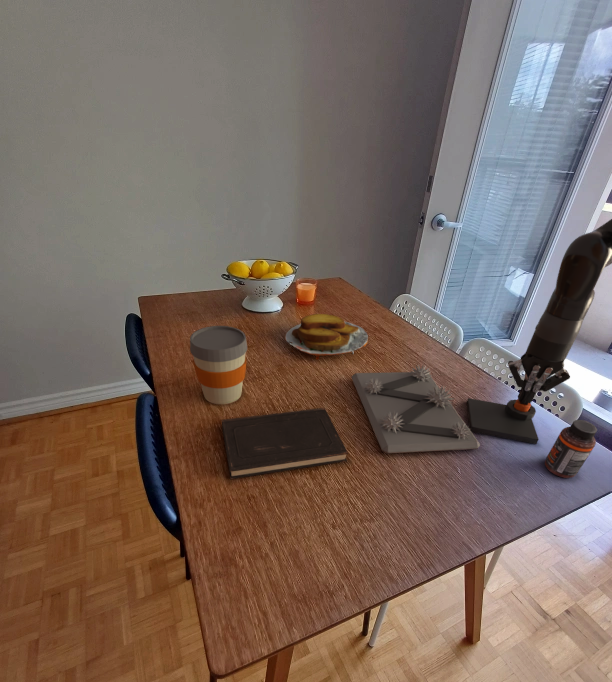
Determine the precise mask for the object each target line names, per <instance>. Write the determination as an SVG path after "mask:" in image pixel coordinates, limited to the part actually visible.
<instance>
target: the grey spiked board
mask: <svg viewBox="0 0 612 682" xmlns="http://www.w3.org/2000/svg"><path fill="white" fill-rule="evenodd" d="M426 368H427V364H425V365H422V366H421V367H420V364H419V363H418V366H417V365H415V368H412V370H410V371H399V372H398V371H396V372H394V371H393V372H392V371H391V372H355V373H354V374H353V375H351V377H350V378H351V381H352V383H353V385H354V387H355V390H356V392H357V395H358V397H359V399H360V402H361V405H362V406H363V409H364V412H365V414H366V416H367V418H368V421H369V423H370V426H371V428H372V431H373V433H374V435H375V437H376V440H377V442H378V445H379V447H380V449H381V451H382V452H383V453H384V454H401V453H402V454H403V453H421V452H423V453H425V452H441V451H442V452H443V451H444V452H445V451H461V450H463V451H465V450H478V449H479V448H480V446H481V442H479V440H477V438H476V437H475V435H474V434H473V432H471V431H470V427H469V425H467V424H466V422H465V421H464V420H463V419H462V417H461V415H460V414H459V413H458V411H457V410H456V409H455V408H454V406H453V400H455V397H451V396H453V392H452V393H451V392H450V391H451V389H452V388H450V389H448V390H447V391H446V386H447V385H445V386H443V384H442V385H441V387H439V386H438V384H437V383H436V381H435V380H434V379H433V376H432V375H431V370H430V367H428V368H427V369H426Z"/></svg>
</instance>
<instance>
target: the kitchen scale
mask: <svg viewBox="0 0 612 682" xmlns="http://www.w3.org/2000/svg"><path fill="white" fill-rule="evenodd" d="M516 400H517V399H510V400H508V401H507V403H506V404H503V403H499V402H492V401H487V400H481V399H477V398H476V399H475V398H470V397H468V398H467V400H466V410H467V417H468V427H469V429H470V431H471V432H472V433H475V434H480V435H481V434H482V435H487V436H491V437H497V438H502V439H507V440H513V441H518V442H522V443H528V444H533V445H537V444H538V441H539V436H538V433H537V430H536V428H535V425H534V422H533V418H534V417H535V415H536V413H537V411H536V407H535V406H533V405H532V404H531V406H530V408H529V410H528V412H522V411H519V410H517V409H515V408H514V404H515V402H516Z"/></svg>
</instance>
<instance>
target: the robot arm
mask: <svg viewBox="0 0 612 682" xmlns="http://www.w3.org/2000/svg"><path fill="white" fill-rule="evenodd" d="M610 265H612V218H611V219H609V220H608V221H606V222H605V223H603V224H601V225H600V226H599V227H597V228H596V229H594V230H592V231H590V232H586V233H583V234H581V235H579V236H578V237H576V238H575V239H574V240H573V241H571V243H570V244H569V246H568V247H567V249H566V250H565V252H564V255H563V257H562V260H561V262H560V266H559V269H558V273H557V278H556V283H555V286H554V289H553V291H552V294H551V295H550V298H549V299H548V303H547V305H546V307H545V309H544V311H543V313H542V315H541V316H540V318H539V320H538V323H537V324H536V326H535V328H534V332H533V334H532V336H531V339H530V341H529V343H528V345H527V347H526V350H525V352H524V354H523V355H521V357H520V358H519V359H517V360H515V361H513V360H509V361H508V362H507V366H508V369H509V371H510V374H511V376H512V378H513V380H514V383H515V384H516V386H517V387H518V388H520V390H519V392H518V394H517V399H518V400H519V401H520V404H524V405H528V403H531V404H532V402H533V401H534V399H535V396H536V394H537V393H538V392H543V393H546V392H549V391H550V390H552V389H554V388H556V387H557V386H558V385H560V384H562V383H564V382H566V381H568V380H569V379H570V378H571V375H570V372H569V371H568V370H567V369H565V361H566V359H567V357H568V355H569V352H570V351H571V349H572V347H573V345H574V343H575V340H576V339H577V336H578V335H579V333H580V330H581V328H582V325H583V322H584V319H585V317H586V316H587V314H588V311H589V310H590V307H591V305H592V303H593V301H594V298H595V295H596V292H595V288H596V286H597V283H598V281H599V279H600V276H601V274H602V273H603V271H604V269H605V268H606V267H608V266H610ZM521 366H522V368H523V371H524V378H523V379H522V378H521V375H520V373H519V371H520V370H521Z"/></svg>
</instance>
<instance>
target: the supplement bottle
mask: <svg viewBox="0 0 612 682" xmlns="http://www.w3.org/2000/svg"><path fill="white" fill-rule="evenodd" d="M597 432H598V429H597V427H596V426H595V425H594V424H593V423H591V422H589V421H587V420H584V419H575V420H574V421H572V423H571V425H570V426H565V427H564V428H562V429H561V431H560V432H559V434H558V435H557V438H556V440H555V442H554V443H553V445H552V446H551V449H550V450H549V452H548V454H547V456H546V457H545V459H544V466H545V468H546V469H547V470H548V471H549V472H550V473H551V474H553V475H554V476H557V477H559V478H564V479H572V478H574V477H576V476H577V474H578V473H579V471H580V470H581V468H582V467H583V465H584V463H585V462H586V460H587V459H588V458H589V456H590V454H591V453H592V451H593V449H594V448H595V446H596V444H597V440H596V437H595V435H596V433H597Z"/></svg>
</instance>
